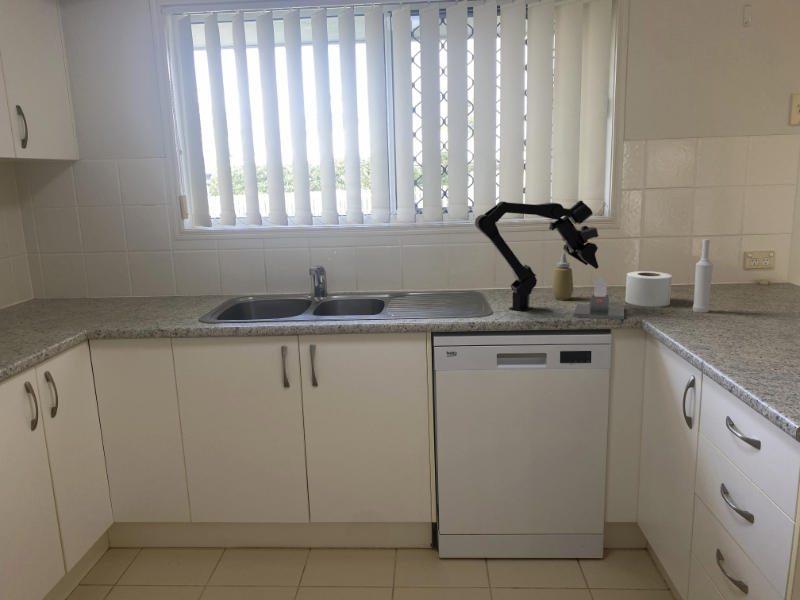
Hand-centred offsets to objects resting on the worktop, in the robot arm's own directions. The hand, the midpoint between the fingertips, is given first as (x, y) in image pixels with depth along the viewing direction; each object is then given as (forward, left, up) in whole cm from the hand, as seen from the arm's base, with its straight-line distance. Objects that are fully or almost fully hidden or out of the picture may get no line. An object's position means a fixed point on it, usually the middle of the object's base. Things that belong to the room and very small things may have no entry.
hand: (592, 266), depth 211 cm
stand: (-9, -7, -15) cm, 19 cm away
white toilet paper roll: (+18, -13, -15) cm, 27 cm away
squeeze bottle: (+5, +15, -15) cm, 22 cm away
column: (-9, -7, -14) cm, 18 cm away
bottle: (+14, -33, -15) cm, 39 cm away
